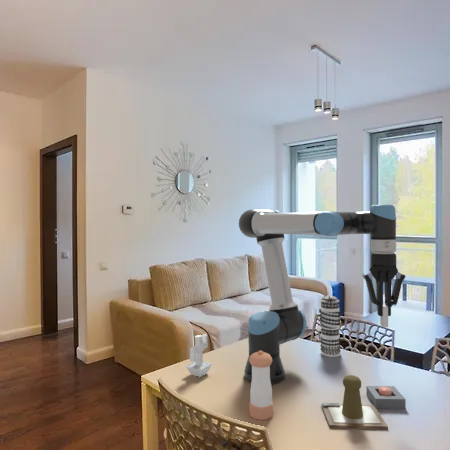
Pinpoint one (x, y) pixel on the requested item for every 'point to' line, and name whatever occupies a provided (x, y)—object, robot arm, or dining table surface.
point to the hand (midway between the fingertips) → (384, 325)
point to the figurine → (198, 357)
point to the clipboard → (338, 420)
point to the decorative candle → (330, 326)
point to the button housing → (386, 398)
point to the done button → (385, 391)
